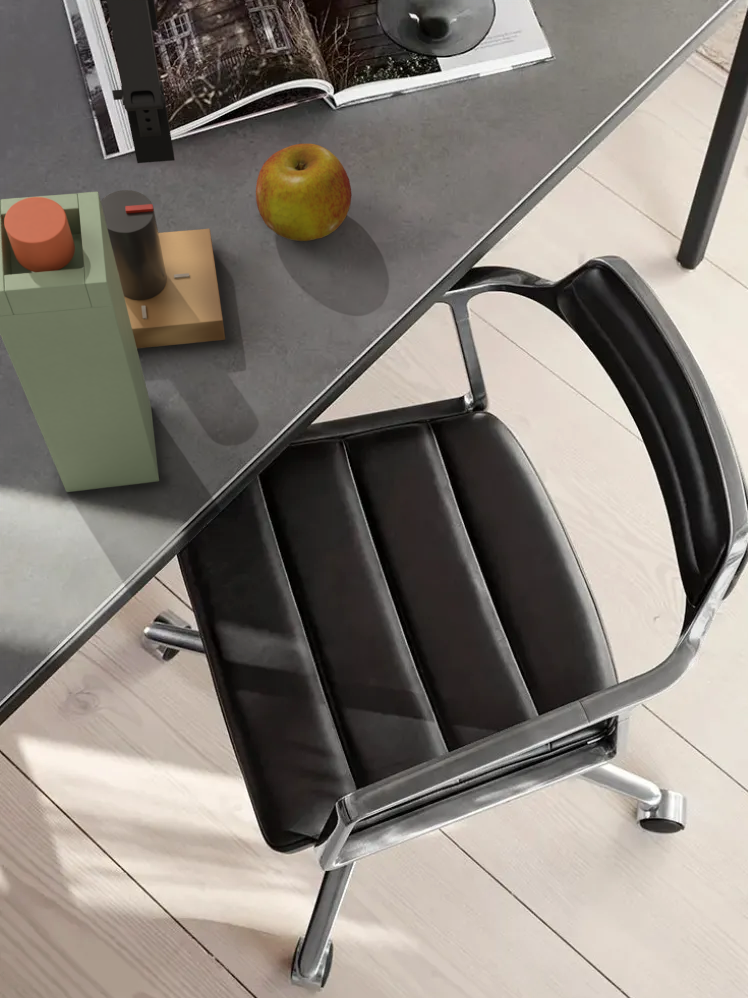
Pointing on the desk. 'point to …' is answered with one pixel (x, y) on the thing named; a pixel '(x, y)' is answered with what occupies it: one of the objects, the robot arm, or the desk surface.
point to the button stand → (79, 355)
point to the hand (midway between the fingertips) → (147, 91)
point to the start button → (39, 234)
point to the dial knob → (135, 243)
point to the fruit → (303, 192)
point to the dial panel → (181, 295)
